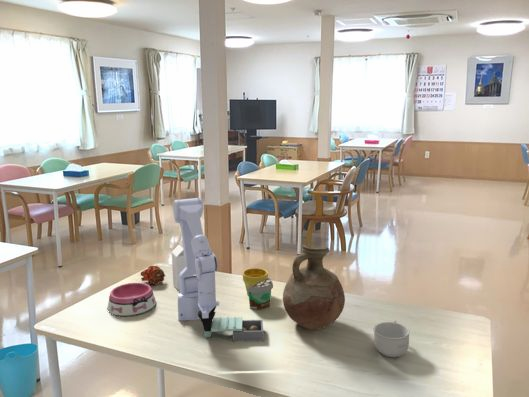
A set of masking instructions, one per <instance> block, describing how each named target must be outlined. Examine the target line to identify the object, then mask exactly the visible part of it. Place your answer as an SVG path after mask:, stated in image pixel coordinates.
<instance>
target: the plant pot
mask: <svg viewBox="0 0 529 397" xmlns="http://www.w3.org/2000/svg"><path fill="white" fill-rule="evenodd" d="M266 277H268V278H269V272H268V271H267V270H266V269H265V268H259V267H250V268H247V269H245V270H243V272H242V281H243V283H244V285H245V291H246V294H247V296H248V297H249V292H247V290H248V286H250V287H252V286H254V285H255V284H257V283H258V282H262V281H264V280H266Z"/></svg>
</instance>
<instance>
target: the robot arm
mask: <svg viewBox="0 0 529 397" xmlns="http://www.w3.org/2000/svg"><path fill="white" fill-rule="evenodd" d="M172 210H173V218H174V221H175V223H176V224H177V223H178V224H179V226H180V233H181V239H182V241H181V242H182V245H183V251H184V260H185V268H184V269H183V270H182V271H181V272H180V274H179V290H178V291H179V293H178V296H177V316H178V319H177V320H178V322H179V321H180V322H182V321H188V320H189V321H190V320H192V321H193V320H200V321H201V324H202V325H201V326H202V328H203V332H205V331H211V329H212V328H211V326H212V321H213V318H215V315H216V309H217V307H218V306H220V301H217V299H216V297H217V296H216V272H217V271H218V259H217V257H216V255H215V253H214V251H212V249H211V245H210V241H209V239H208V237H207V236H206V235H204V232H203V225H202V221H201V218H202V216H203V212H204V203H203V200H202V198H201V197H195V198H184V199H174V200H173V204H172ZM190 275H193V276H190ZM186 276H190V277H186Z"/></svg>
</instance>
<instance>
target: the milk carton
mask: <svg viewBox="0 0 529 397" xmlns="http://www.w3.org/2000/svg"><path fill="white" fill-rule="evenodd" d="M171 266H172V284H173V286H174V287H175V289H176V290H177V291H180V290H179V274H180V272H181V271H182V270H183V269H184V268H185V260H184V251H183V243H181V242H180V241H178V245H177V246H176V247H175V248H174V249H173V250H172V251H171ZM190 276H194V275H190ZM190 276H186V277H190Z"/></svg>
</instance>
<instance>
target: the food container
mask: <svg viewBox="0 0 529 397" xmlns="http://www.w3.org/2000/svg"><path fill="white" fill-rule="evenodd" d="M273 288H274V283H273V280H272V278H269V276H268V277H266V280H264V281H262V282H258V283H257V284H255V285H254V286H252V287H250V286H248V290H247V291H246V293H247V292H249V296H248V301H249V309H251V310H265V309H269V308H270V306H271V296H272V289H273Z"/></svg>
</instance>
